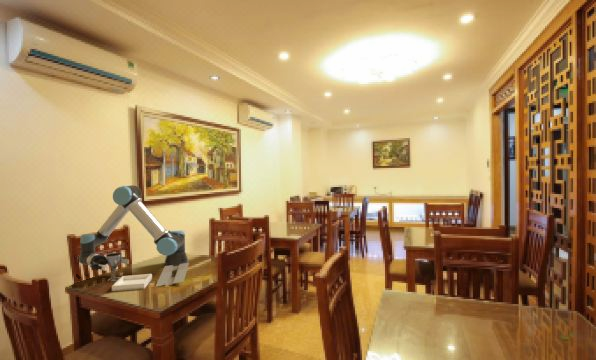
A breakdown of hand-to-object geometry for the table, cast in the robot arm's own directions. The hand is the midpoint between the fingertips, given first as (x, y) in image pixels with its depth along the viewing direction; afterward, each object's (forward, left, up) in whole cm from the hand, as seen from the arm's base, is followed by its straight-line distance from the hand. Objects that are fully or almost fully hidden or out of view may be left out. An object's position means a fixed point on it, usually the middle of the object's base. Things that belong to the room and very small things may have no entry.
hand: (117, 265), depth 176 cm
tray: (-11, +11, -9) cm, 18 cm away
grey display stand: (-33, +12, -9) cm, 36 cm away
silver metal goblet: (+3, -2, -9) cm, 10 cm away
